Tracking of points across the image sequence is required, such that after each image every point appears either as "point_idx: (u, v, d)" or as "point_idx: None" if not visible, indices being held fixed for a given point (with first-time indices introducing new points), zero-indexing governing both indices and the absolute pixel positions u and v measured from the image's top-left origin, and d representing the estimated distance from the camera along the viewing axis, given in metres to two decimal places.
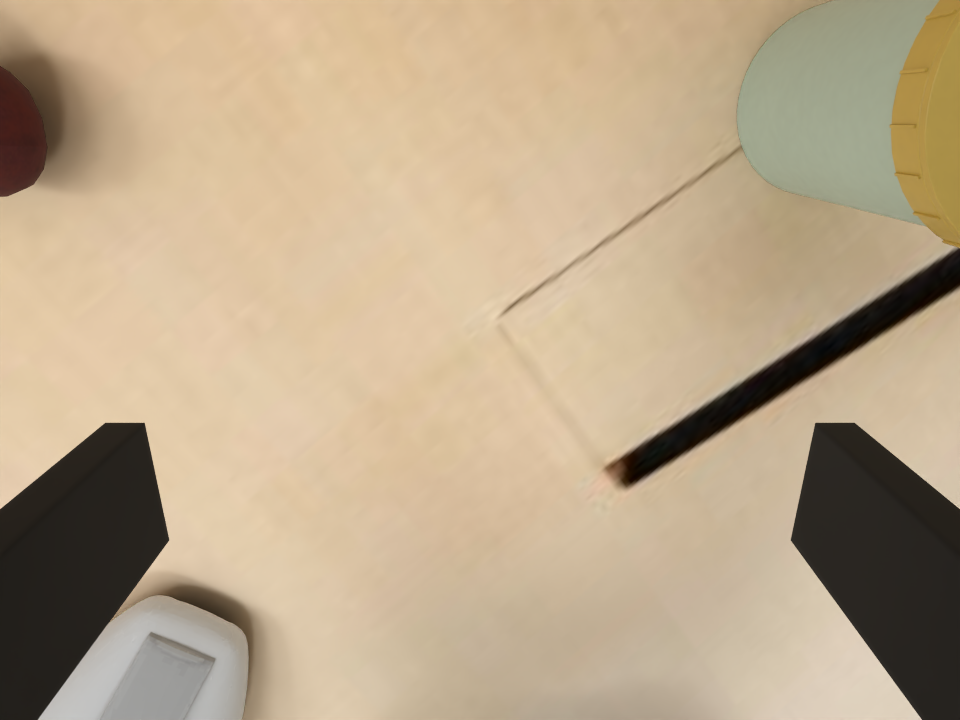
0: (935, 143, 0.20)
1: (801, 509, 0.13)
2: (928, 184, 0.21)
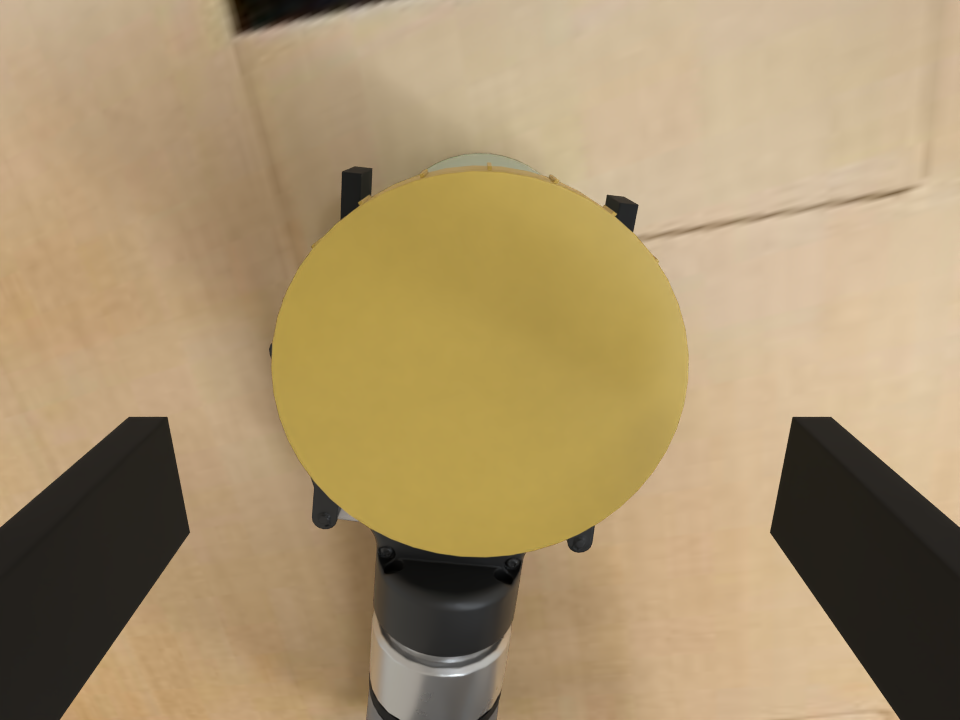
0: (670, 414, 0.18)
1: (779, 501, 0.13)
2: None
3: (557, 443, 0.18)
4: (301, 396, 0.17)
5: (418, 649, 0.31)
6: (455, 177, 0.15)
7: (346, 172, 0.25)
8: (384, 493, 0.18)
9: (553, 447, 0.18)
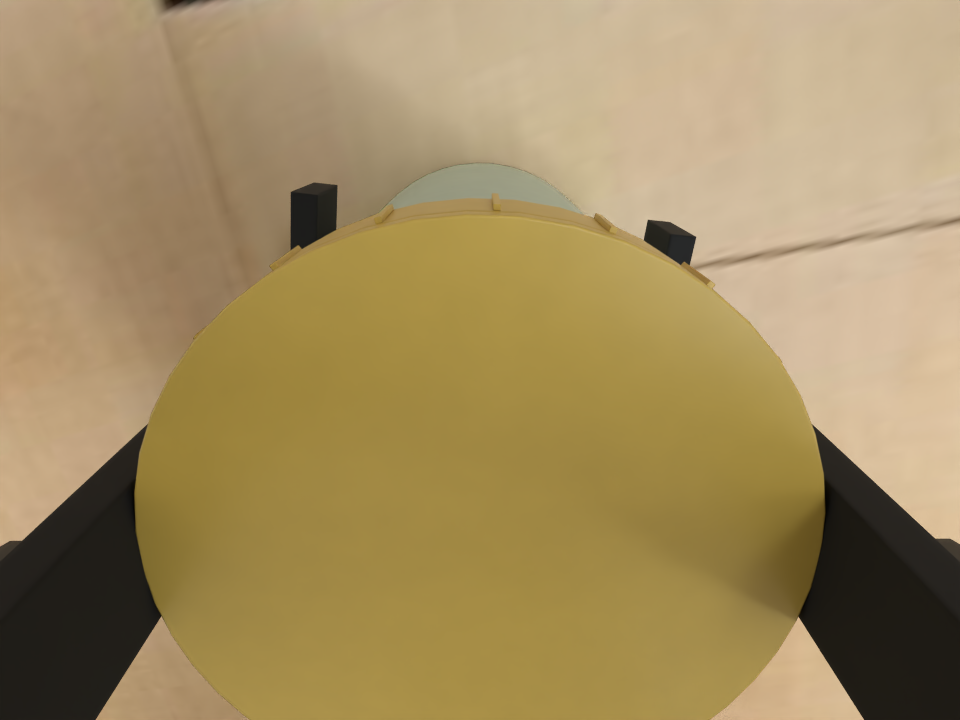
0: (788, 600, 0.11)
1: None
2: None
3: (604, 641, 0.11)
4: (188, 574, 0.11)
5: None
6: (436, 225, 0.09)
7: (297, 193, 0.18)
8: (329, 709, 0.12)
9: (597, 646, 0.11)
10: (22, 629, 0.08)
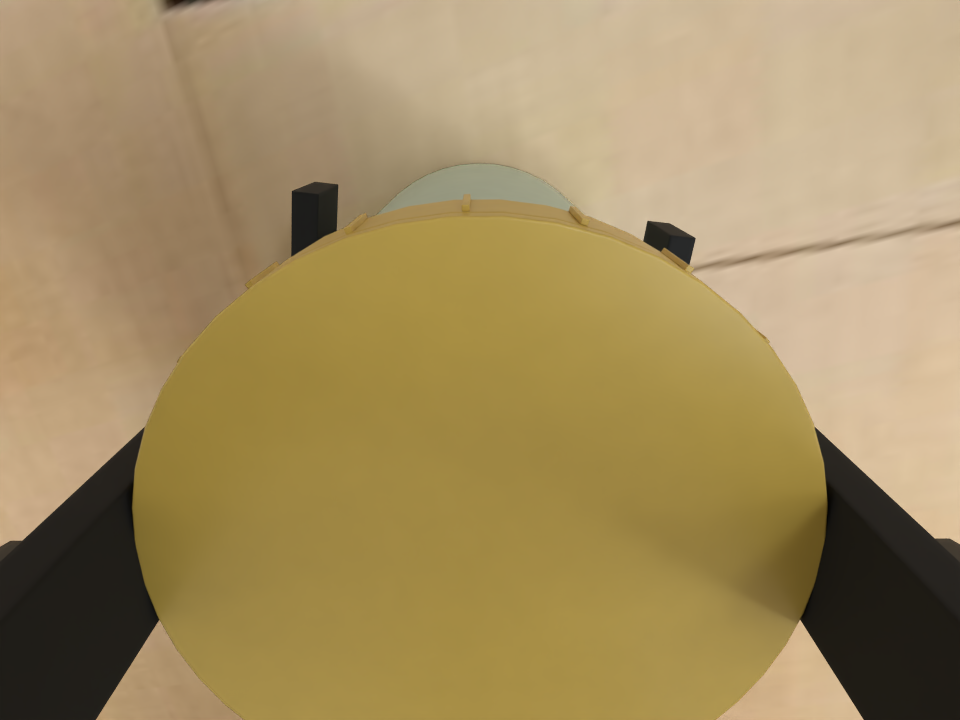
0: (423, 243, 0.09)
1: None
2: None
3: (546, 421, 0.10)
4: None
5: None
6: (194, 663, 0.11)
7: (298, 192, 0.18)
8: (712, 640, 0.11)
9: (556, 425, 0.10)
10: (23, 629, 0.08)
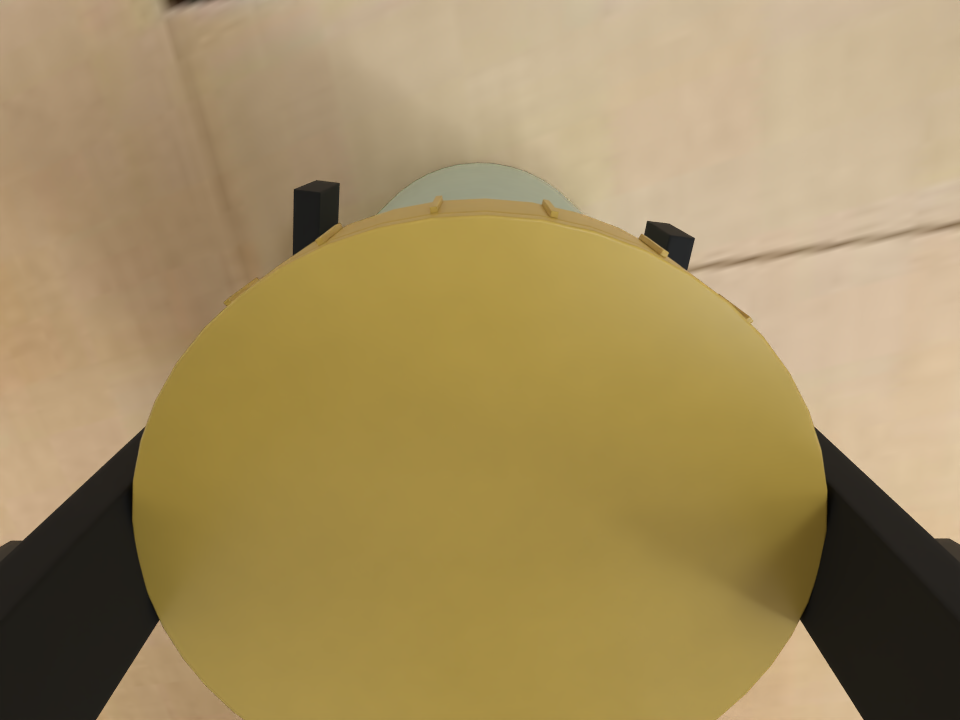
0: (209, 669, 0.11)
1: None
2: None
3: (309, 553, 0.10)
4: (740, 396, 0.09)
5: None
6: None
7: (300, 190, 0.18)
8: (505, 309, 0.09)
9: (310, 545, 0.10)
10: (23, 628, 0.08)
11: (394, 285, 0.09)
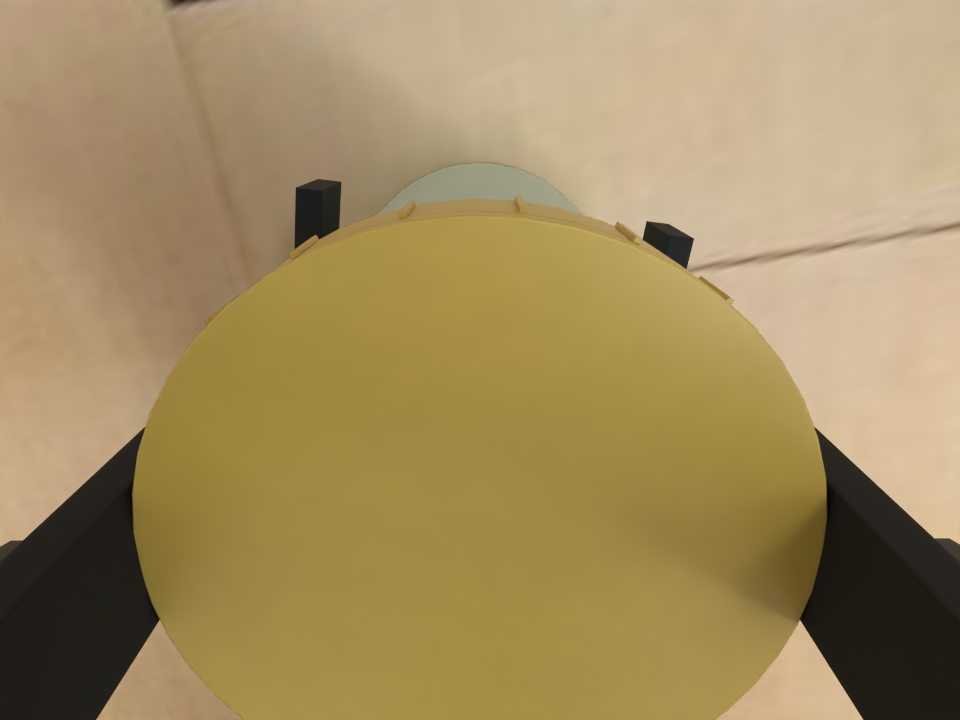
0: None
1: None
2: None
3: (516, 685, 0.11)
4: (210, 410, 0.09)
5: None
6: (690, 284, 0.09)
7: (302, 188, 0.18)
8: (229, 608, 0.11)
9: (507, 687, 0.11)
10: (23, 628, 0.08)
11: (249, 678, 0.11)
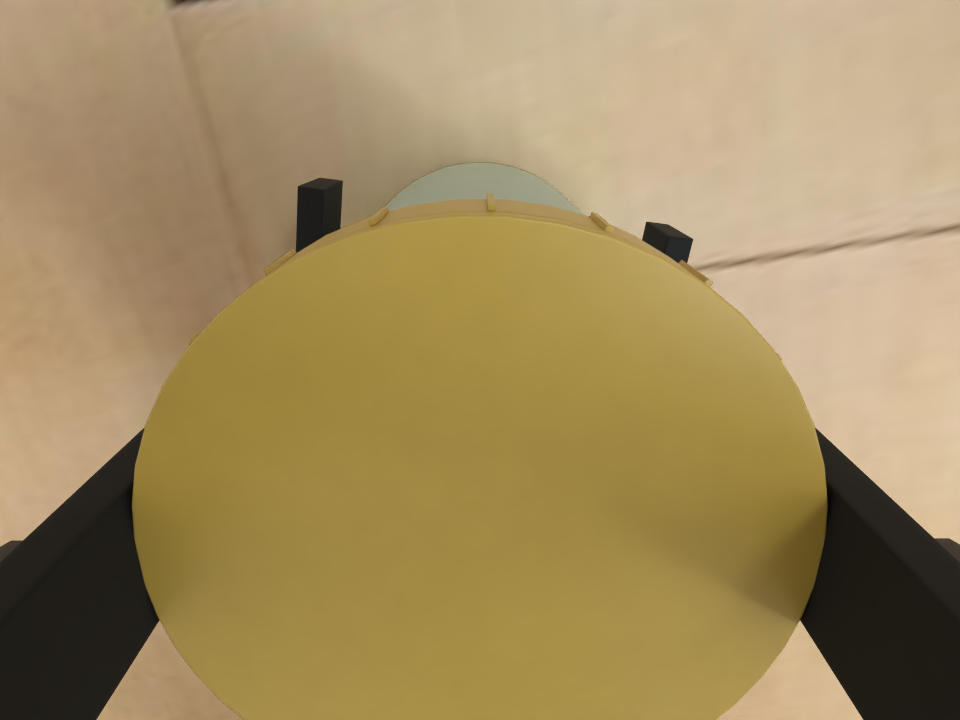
0: (670, 289, 0.09)
1: None
2: (592, 231, 0.09)
3: (632, 487, 0.10)
4: None
5: None
6: (139, 490, 0.10)
7: (304, 187, 0.19)
8: None
9: (636, 496, 0.10)
10: (23, 629, 0.08)
11: (679, 705, 0.12)
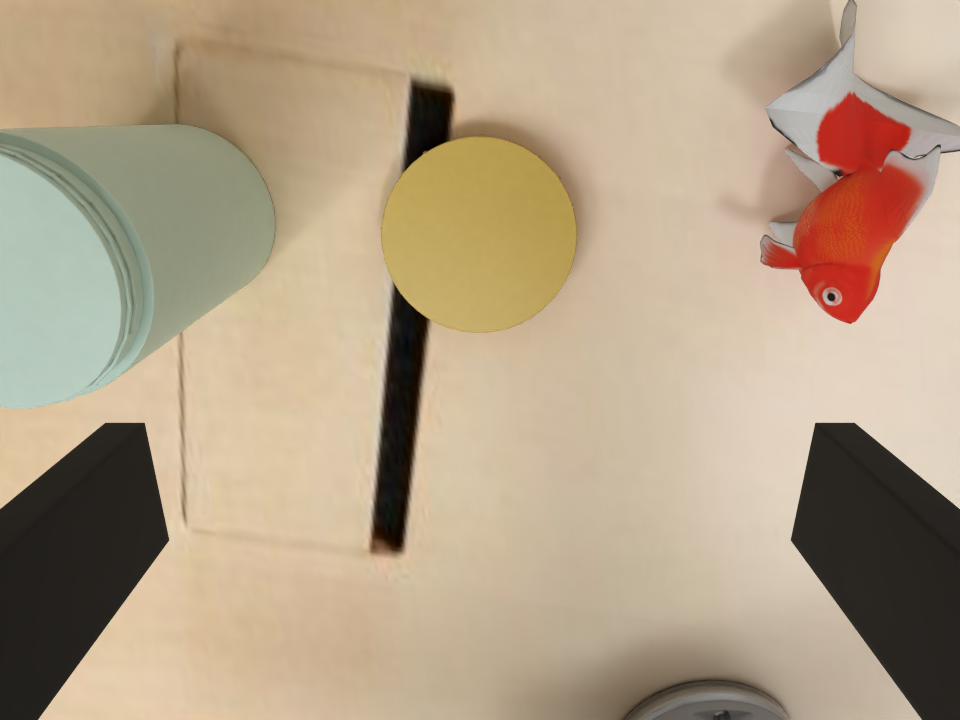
0: (526, 156, 0.35)
1: (801, 509, 0.13)
2: None
3: (521, 215, 0.36)
4: (455, 317, 0.38)
5: None
6: (385, 216, 0.36)
7: None
8: (515, 303, 0.38)
9: (522, 217, 0.36)
10: None
11: (540, 293, 0.38)
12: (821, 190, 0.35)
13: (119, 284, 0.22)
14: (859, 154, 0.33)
